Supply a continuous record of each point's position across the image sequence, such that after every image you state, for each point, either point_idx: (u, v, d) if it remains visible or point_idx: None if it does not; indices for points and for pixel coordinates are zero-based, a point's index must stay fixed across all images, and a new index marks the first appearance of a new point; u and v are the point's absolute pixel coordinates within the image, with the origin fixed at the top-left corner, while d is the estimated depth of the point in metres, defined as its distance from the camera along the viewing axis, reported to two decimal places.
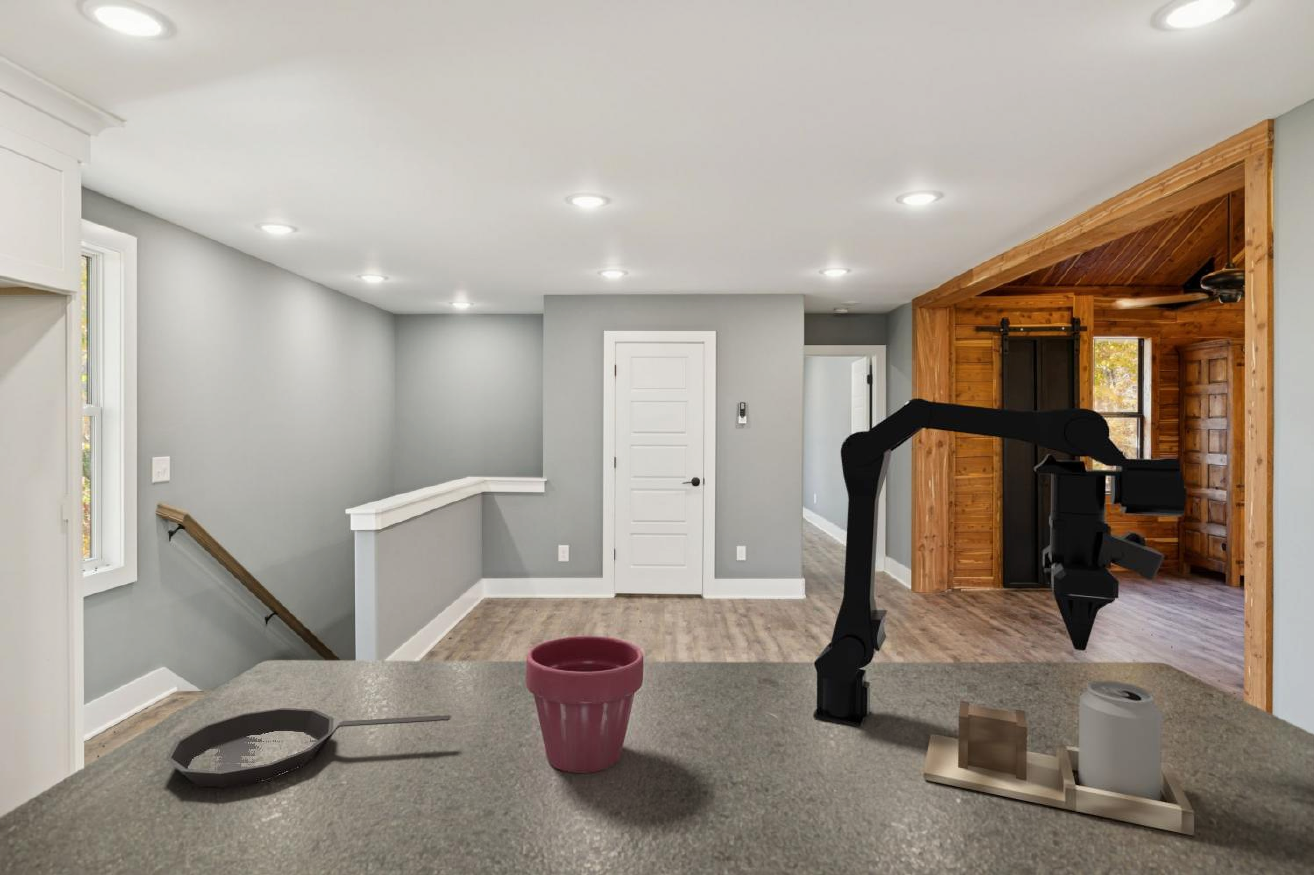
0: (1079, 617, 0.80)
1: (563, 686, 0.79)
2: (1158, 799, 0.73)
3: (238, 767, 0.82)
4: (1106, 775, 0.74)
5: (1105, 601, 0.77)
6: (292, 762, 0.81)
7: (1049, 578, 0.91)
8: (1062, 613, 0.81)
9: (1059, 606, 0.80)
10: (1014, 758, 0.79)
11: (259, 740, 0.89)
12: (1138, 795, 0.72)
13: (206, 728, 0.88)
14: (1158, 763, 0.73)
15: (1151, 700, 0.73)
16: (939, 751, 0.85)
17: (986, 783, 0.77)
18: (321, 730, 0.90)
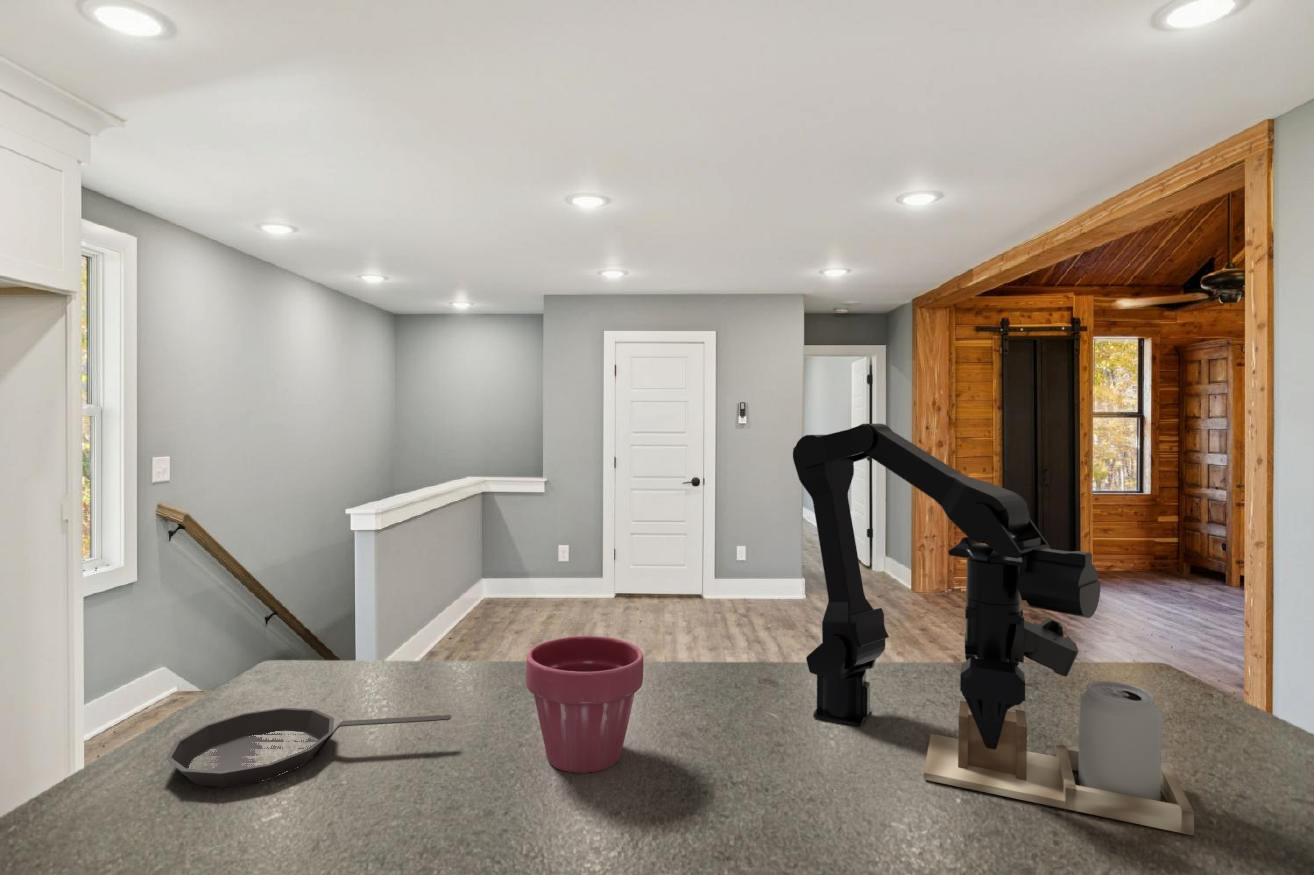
0: (989, 715, 0.76)
1: (563, 686, 0.79)
2: (1158, 799, 0.73)
3: (238, 767, 0.82)
4: (1106, 775, 0.74)
5: (1013, 702, 0.73)
6: (292, 762, 0.81)
7: None
8: (972, 710, 0.77)
9: (968, 703, 0.77)
10: (1014, 758, 0.79)
11: (259, 740, 0.89)
12: (1138, 795, 0.72)
13: (206, 728, 0.88)
14: (1158, 763, 0.73)
15: (1151, 700, 0.73)
16: (939, 751, 0.85)
17: (986, 783, 0.77)
18: (321, 730, 0.90)
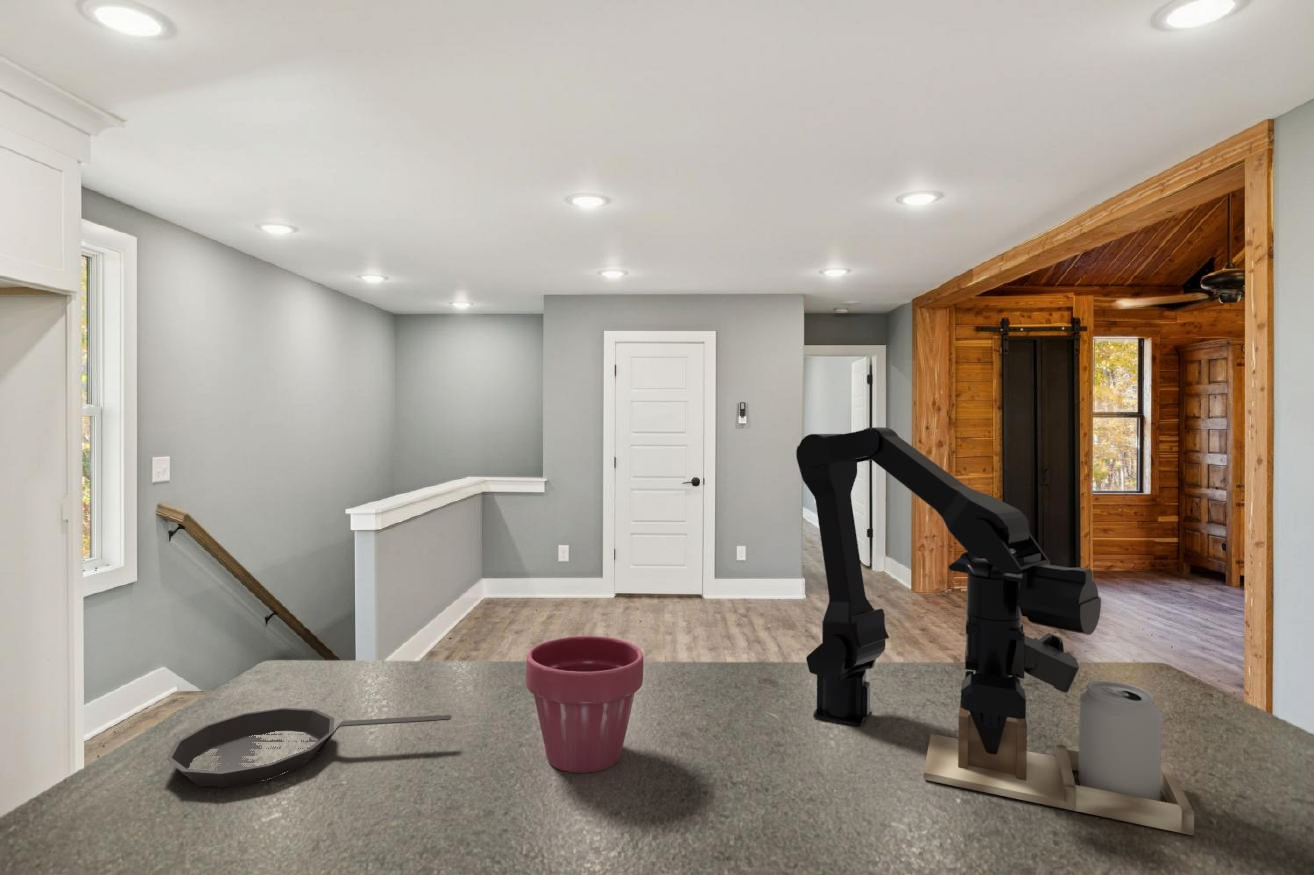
0: (990, 721, 0.79)
1: (563, 686, 0.79)
2: (1158, 799, 0.73)
3: (239, 767, 0.82)
4: (1106, 775, 0.74)
5: None
6: (293, 762, 0.81)
7: None
8: (973, 717, 0.79)
9: None
10: (1014, 758, 0.79)
11: (260, 740, 0.89)
12: (1138, 795, 0.72)
13: (207, 728, 0.88)
14: (1158, 763, 0.73)
15: (1151, 700, 0.73)
16: (939, 751, 0.85)
17: (986, 783, 0.77)
18: (322, 730, 0.90)
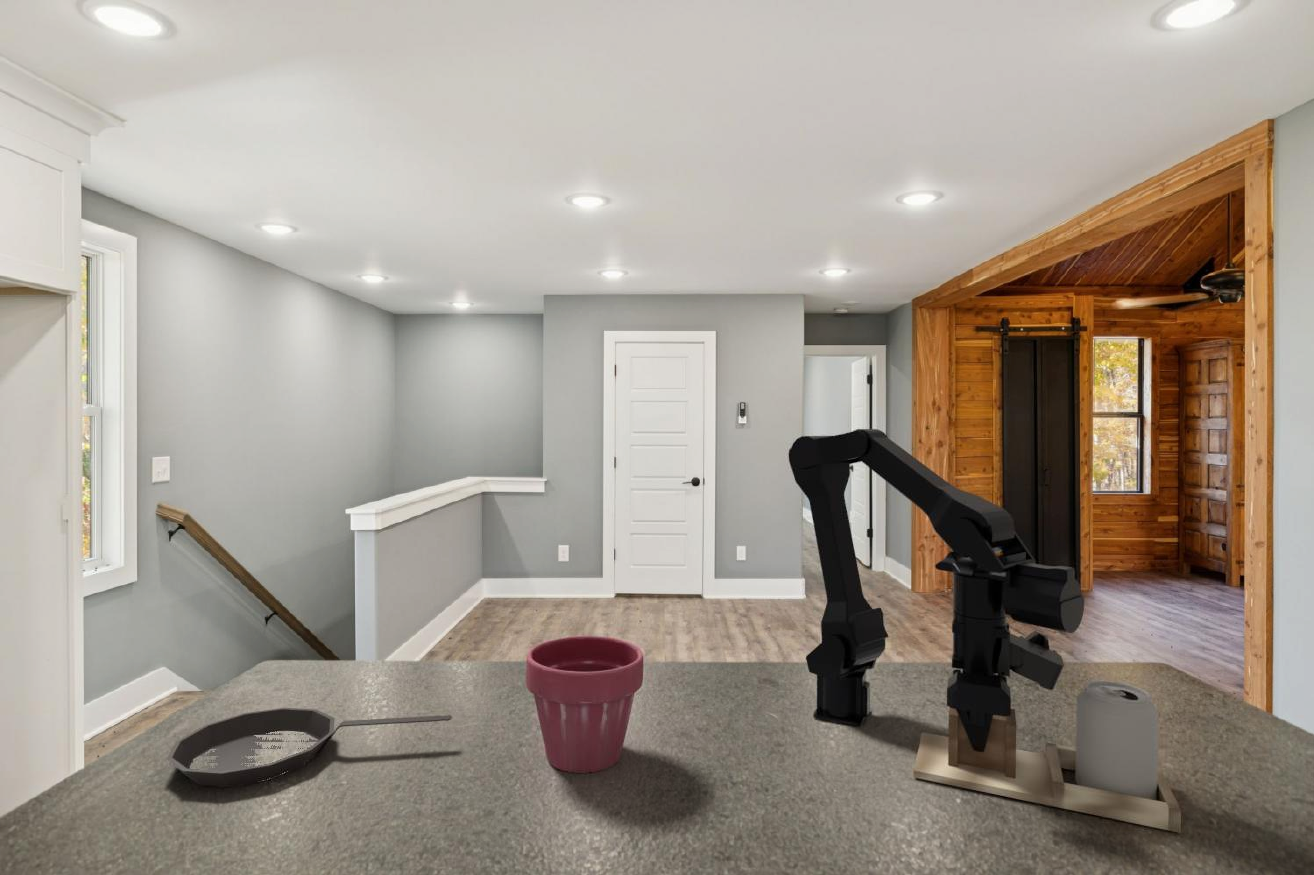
0: (976, 719, 0.80)
1: (563, 686, 0.79)
2: (1155, 798, 0.73)
3: (239, 767, 0.82)
4: (1103, 774, 0.74)
5: None
6: (293, 762, 0.81)
7: None
8: (960, 715, 0.80)
9: (956, 708, 0.80)
10: (1004, 756, 0.80)
11: (260, 740, 0.89)
12: (1135, 794, 0.73)
13: (207, 728, 0.88)
14: (1155, 762, 0.73)
15: (1148, 699, 0.74)
16: (930, 749, 0.85)
17: (976, 781, 0.78)
18: (322, 730, 0.90)
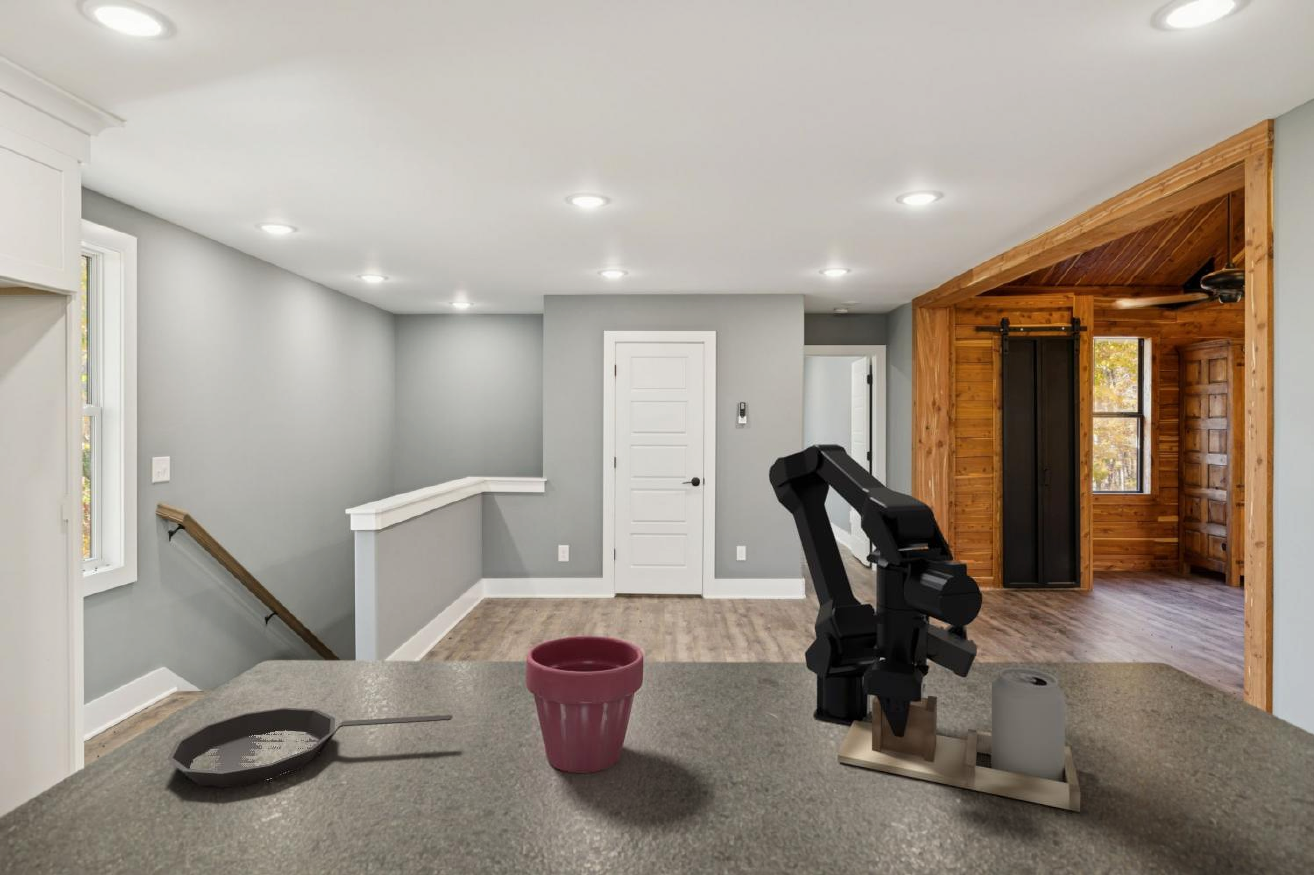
0: (895, 706, 0.83)
1: (563, 686, 0.79)
2: (1059, 779, 0.77)
3: (240, 767, 0.82)
4: (1009, 755, 0.78)
5: None
6: (294, 762, 0.81)
7: None
8: (880, 702, 0.84)
9: (876, 695, 0.84)
10: (923, 741, 0.83)
11: (260, 740, 0.89)
12: (1037, 774, 0.77)
13: (207, 728, 0.88)
14: (1059, 745, 0.77)
15: (1053, 685, 0.77)
16: (857, 736, 0.89)
17: (895, 764, 0.81)
18: (322, 730, 0.90)
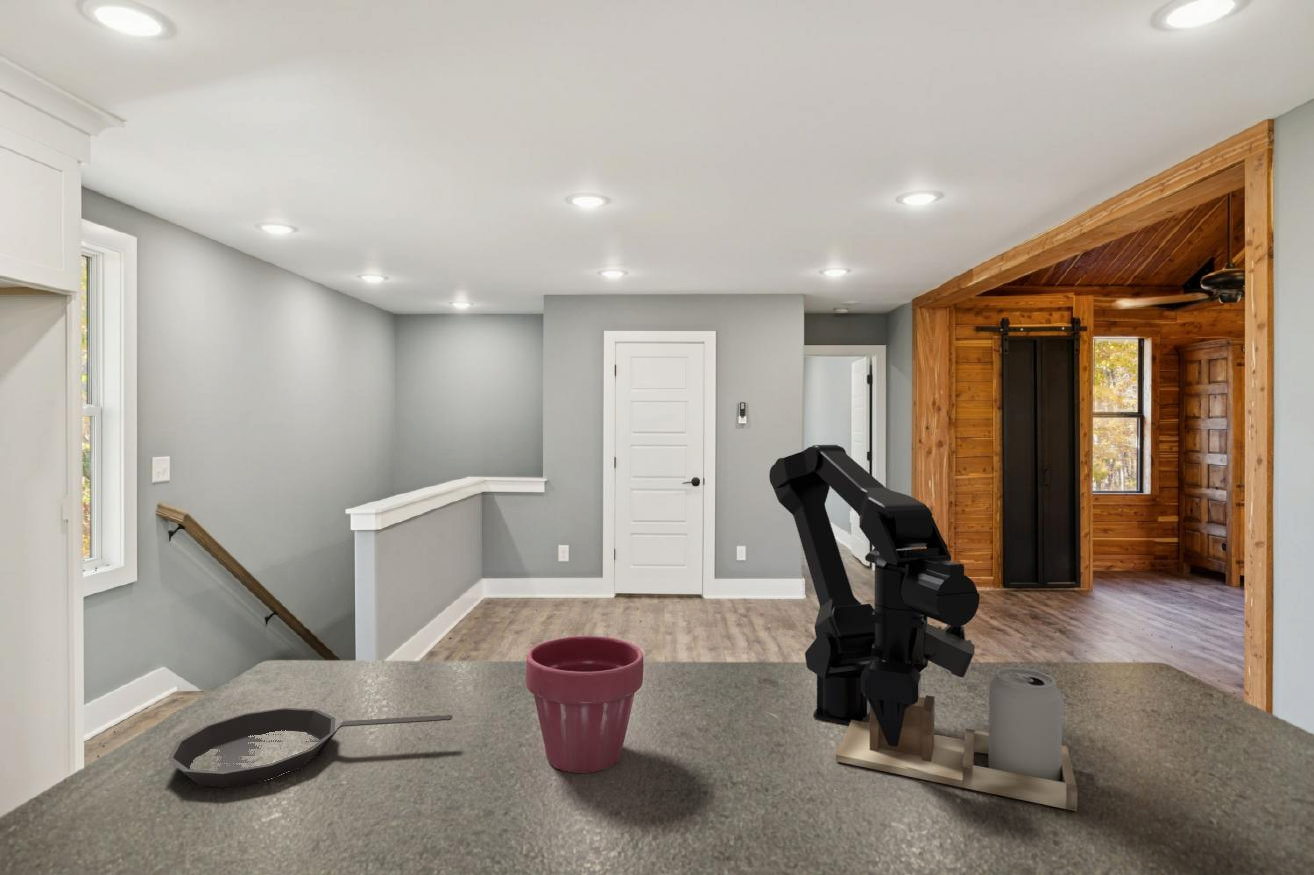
0: (890, 714, 0.81)
1: (563, 686, 0.79)
2: (1056, 779, 0.77)
3: (240, 767, 0.82)
4: (1006, 755, 0.78)
5: (908, 702, 0.78)
6: (294, 762, 0.81)
7: None
8: (874, 710, 0.81)
9: (870, 703, 0.81)
10: (921, 741, 0.83)
11: (261, 740, 0.89)
12: (1035, 774, 0.77)
13: (208, 728, 0.88)
14: (1056, 745, 0.77)
15: (1050, 685, 0.78)
16: (855, 735, 0.89)
17: (892, 764, 0.82)
18: (323, 730, 0.90)
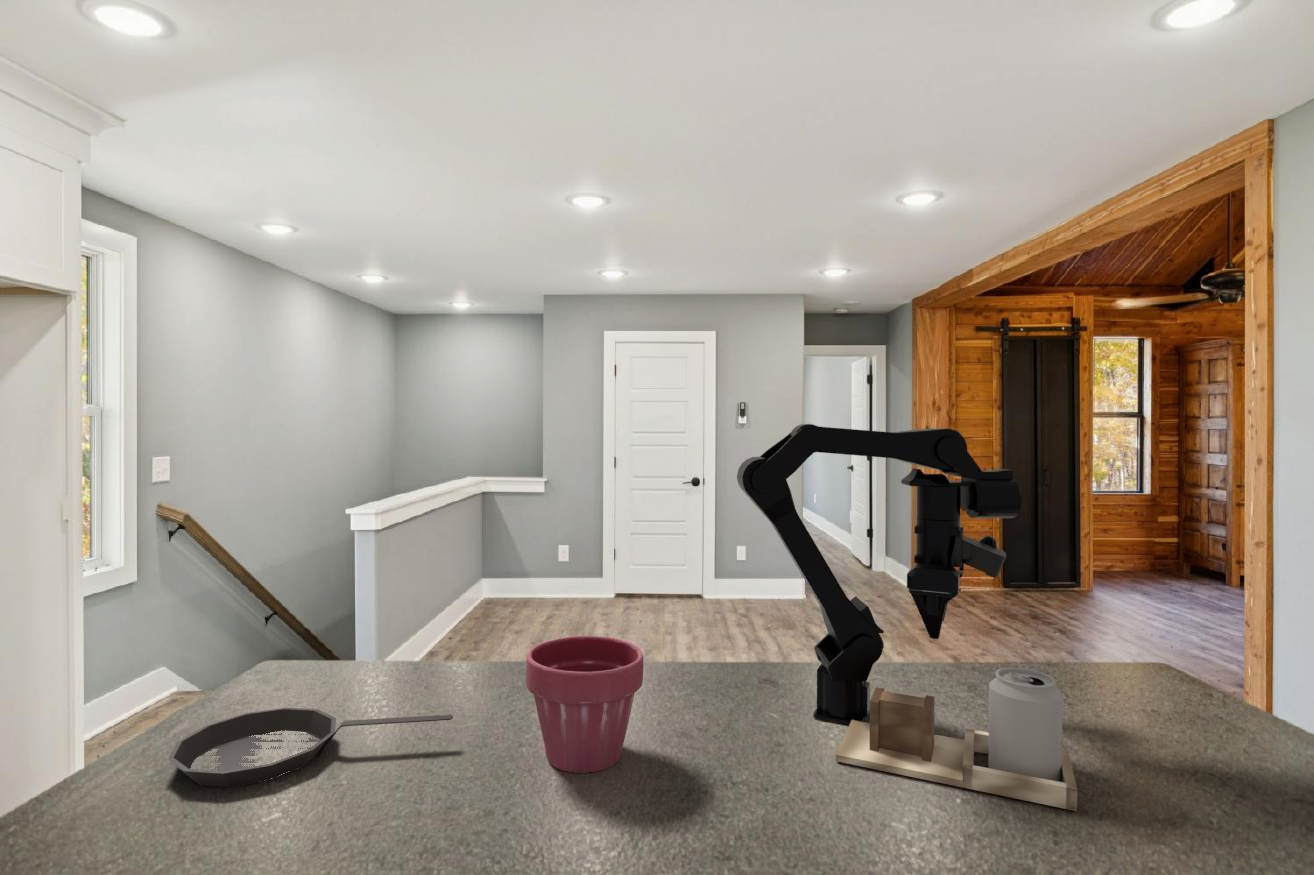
0: (932, 610, 0.93)
1: (563, 686, 0.79)
2: (1056, 779, 0.77)
3: (240, 767, 0.82)
4: (1006, 755, 0.78)
5: (949, 596, 0.90)
6: (295, 762, 0.81)
7: None
8: (918, 606, 0.93)
9: (915, 600, 0.93)
10: (921, 741, 0.83)
11: (261, 740, 0.89)
12: (1035, 774, 0.77)
13: (208, 728, 0.88)
14: (1056, 745, 0.77)
15: (1050, 685, 0.78)
16: (855, 735, 0.89)
17: (892, 764, 0.82)
18: (323, 730, 0.90)
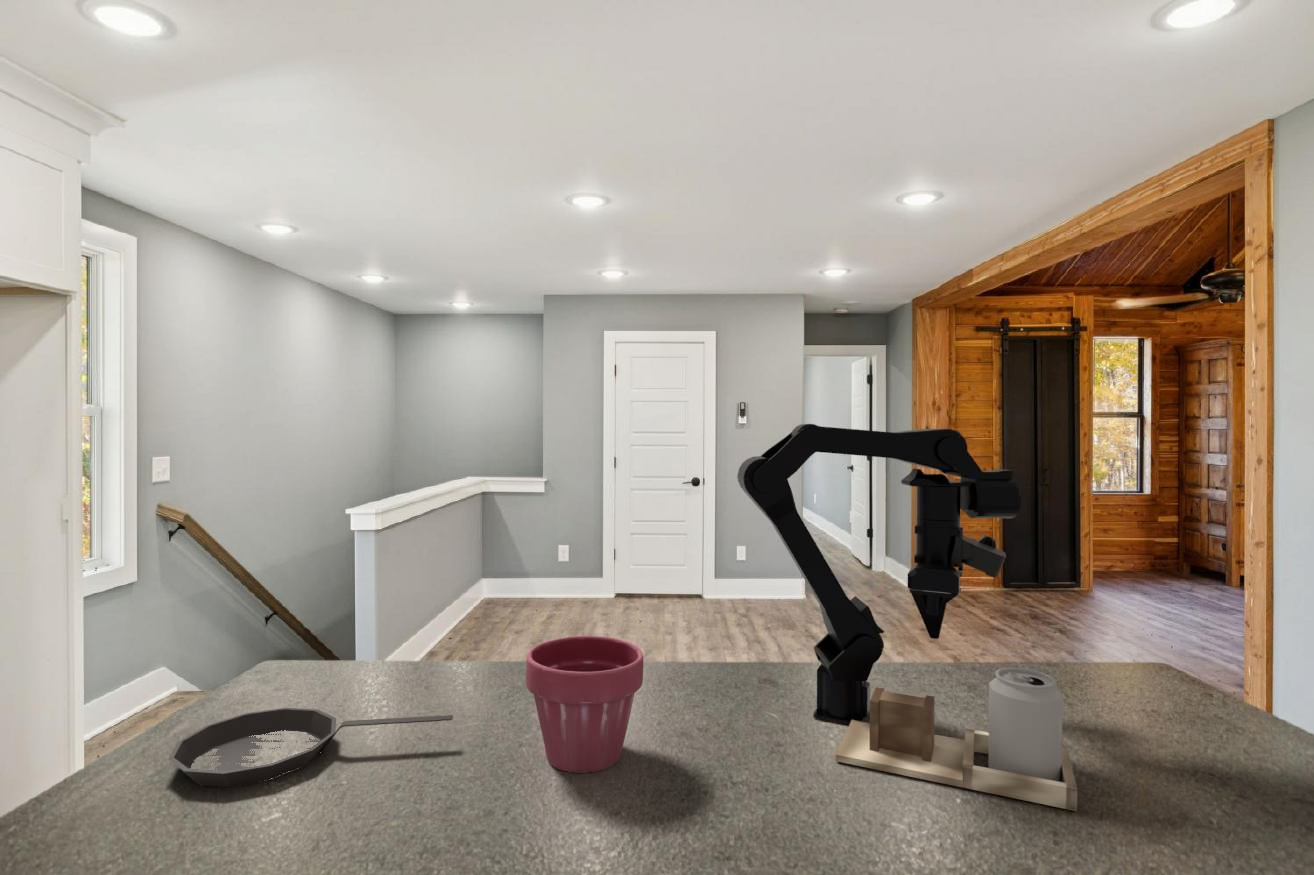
0: (932, 610, 0.93)
1: (563, 686, 0.79)
2: (1056, 779, 0.77)
3: (241, 767, 0.82)
4: (1006, 755, 0.78)
5: (949, 596, 0.90)
6: (295, 762, 0.81)
7: None
8: (918, 606, 0.93)
9: (915, 600, 0.93)
10: (921, 741, 0.83)
11: (261, 740, 0.89)
12: (1035, 774, 0.77)
13: (209, 728, 0.88)
14: (1056, 745, 0.77)
15: (1050, 685, 0.78)
16: (855, 735, 0.89)
17: (892, 764, 0.82)
18: (323, 730, 0.90)
